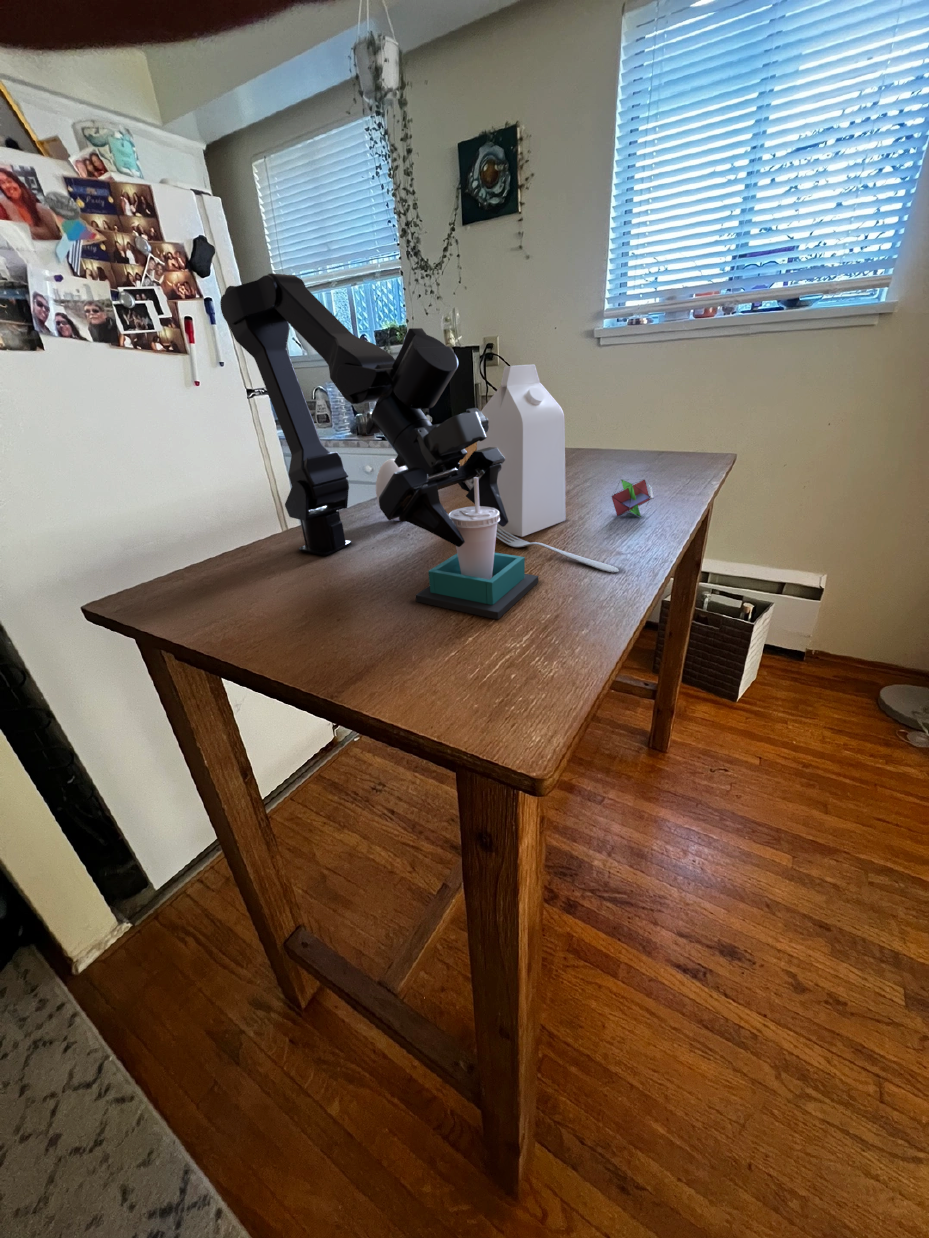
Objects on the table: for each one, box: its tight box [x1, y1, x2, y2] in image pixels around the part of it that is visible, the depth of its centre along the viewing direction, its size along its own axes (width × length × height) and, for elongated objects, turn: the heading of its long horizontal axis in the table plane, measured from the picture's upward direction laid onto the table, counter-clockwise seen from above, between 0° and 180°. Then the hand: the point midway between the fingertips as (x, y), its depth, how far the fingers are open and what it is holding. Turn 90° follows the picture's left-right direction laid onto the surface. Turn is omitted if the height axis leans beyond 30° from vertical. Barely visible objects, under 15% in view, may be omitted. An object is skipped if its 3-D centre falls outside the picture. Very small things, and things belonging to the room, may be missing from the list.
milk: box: [476, 363, 567, 538], centre depth 87 cm, size 12×12×26 cm
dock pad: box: [415, 552, 539, 621], centre depth 66 cm, size 12×12×4 cm
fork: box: [496, 526, 620, 573], centre depth 77 cm, size 3×24×2 cm, turn 43°
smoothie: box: [448, 477, 500, 579], centre depth 63 cm, size 6×6×14 cm
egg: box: [375, 458, 408, 522], centre depth 96 cm, size 7×7×12 cm
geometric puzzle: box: [610, 478, 655, 518], centre depth 91 cm, size 7×7×8 cm
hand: (485, 534), depth 62 cm, fingers open, 9 cm apart
